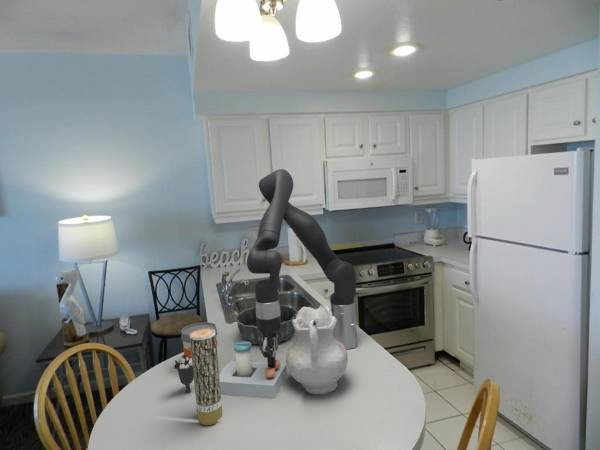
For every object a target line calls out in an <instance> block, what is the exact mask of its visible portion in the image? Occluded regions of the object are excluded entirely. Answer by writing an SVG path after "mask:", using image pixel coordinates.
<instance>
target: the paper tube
mask: <svg viewBox="0 0 600 450" xmlns="http://www.w3.org/2000/svg"><path fill="white" fill-rule="evenodd" d="M216 339H217V336H216V334H215V330H213V329H200V330H197V331H194V332H192V333H191V334H190V343H191V353H192V364H193V374H194V380H193V383H194V393H195V402H196V404H195V405H196V413H197V414H196V415H197V421H198V423H199V424H201V425H203V426H211V425H214V424H215V425H216V424H217V423H218V422H219V420H220V419H221V418H222V417H223V403H222V394H221V390H220V379H219V373H220V371H219V370H220V369H219V358H218V344H217V345H216Z"/></svg>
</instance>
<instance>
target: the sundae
mask: <svg viewBox="0 0 600 450" xmlns="http://www.w3.org/2000/svg"><path fill="white" fill-rule="evenodd" d="M189 349H191V348H189ZM189 349H188V350H189ZM187 352H188V351H187ZM187 352H186V353H184V352H183V355H182V356H180V357H179V358H178V361H177V360H174V362H175V364H174V367H173V368H174V369H175V370H176V371H177V373H178V378H179V382H180V383H181V384H182V385H183V386H185V392H184V394H191V392H192V390H191V386H190V384H192V383H193V382H194V374H193V364H192V355H190V350H189V355H187Z"/></svg>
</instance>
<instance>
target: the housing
mask: <svg viewBox="0 0 600 450" xmlns="http://www.w3.org/2000/svg"><path fill="white" fill-rule="evenodd" d="M266 368H268V362H264V361H263V362H262V361H259V362H258V361H252V371H253V375H252V376H251V377H237V369H236V360H229V362H228V363H227V364H226V365H225V366H224V367H223V369H221V371H219V379H220V390H221V395H225V396H237V397H238V396H239V397H250V398H251V397H253V398H264V399H265V398H267V399H276V397H277V395H278V393H279V391H280V390H281V388H282V386H283V384H284V382H285V381H286V378H287V377H288V367H287V363H281V362H280V368H278V369H277V371H275V376H273V377H272V379H269V377H265V371H264V370H265V369H266Z"/></svg>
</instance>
